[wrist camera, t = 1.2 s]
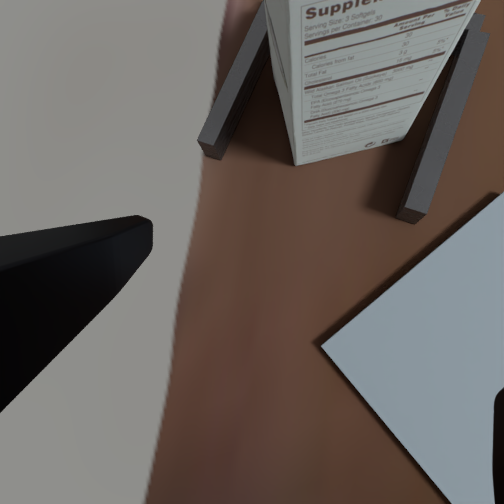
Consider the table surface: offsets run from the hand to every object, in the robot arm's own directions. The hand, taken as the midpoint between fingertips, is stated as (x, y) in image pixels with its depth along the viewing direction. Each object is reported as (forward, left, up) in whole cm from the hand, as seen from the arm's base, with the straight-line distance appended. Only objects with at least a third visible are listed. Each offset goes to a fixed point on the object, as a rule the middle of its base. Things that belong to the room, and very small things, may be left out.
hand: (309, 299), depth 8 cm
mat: (+6, -9, -12) cm, 17 cm away
